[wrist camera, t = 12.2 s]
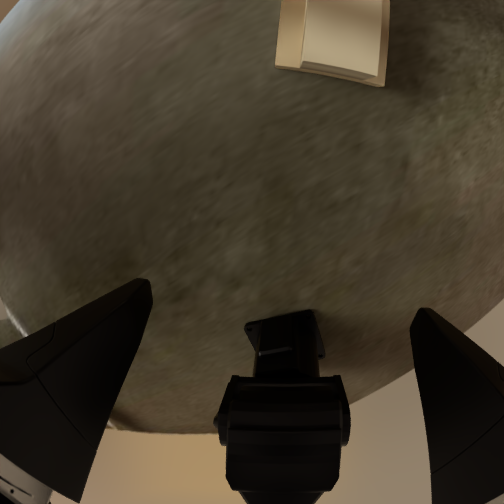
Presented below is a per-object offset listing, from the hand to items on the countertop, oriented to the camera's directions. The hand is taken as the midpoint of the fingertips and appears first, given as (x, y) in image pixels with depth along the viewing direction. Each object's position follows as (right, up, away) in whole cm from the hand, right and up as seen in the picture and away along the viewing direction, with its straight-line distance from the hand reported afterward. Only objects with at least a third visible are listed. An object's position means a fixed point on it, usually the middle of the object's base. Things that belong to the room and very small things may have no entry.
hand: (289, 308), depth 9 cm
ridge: (+5, +22, +2) cm, 23 cm away
